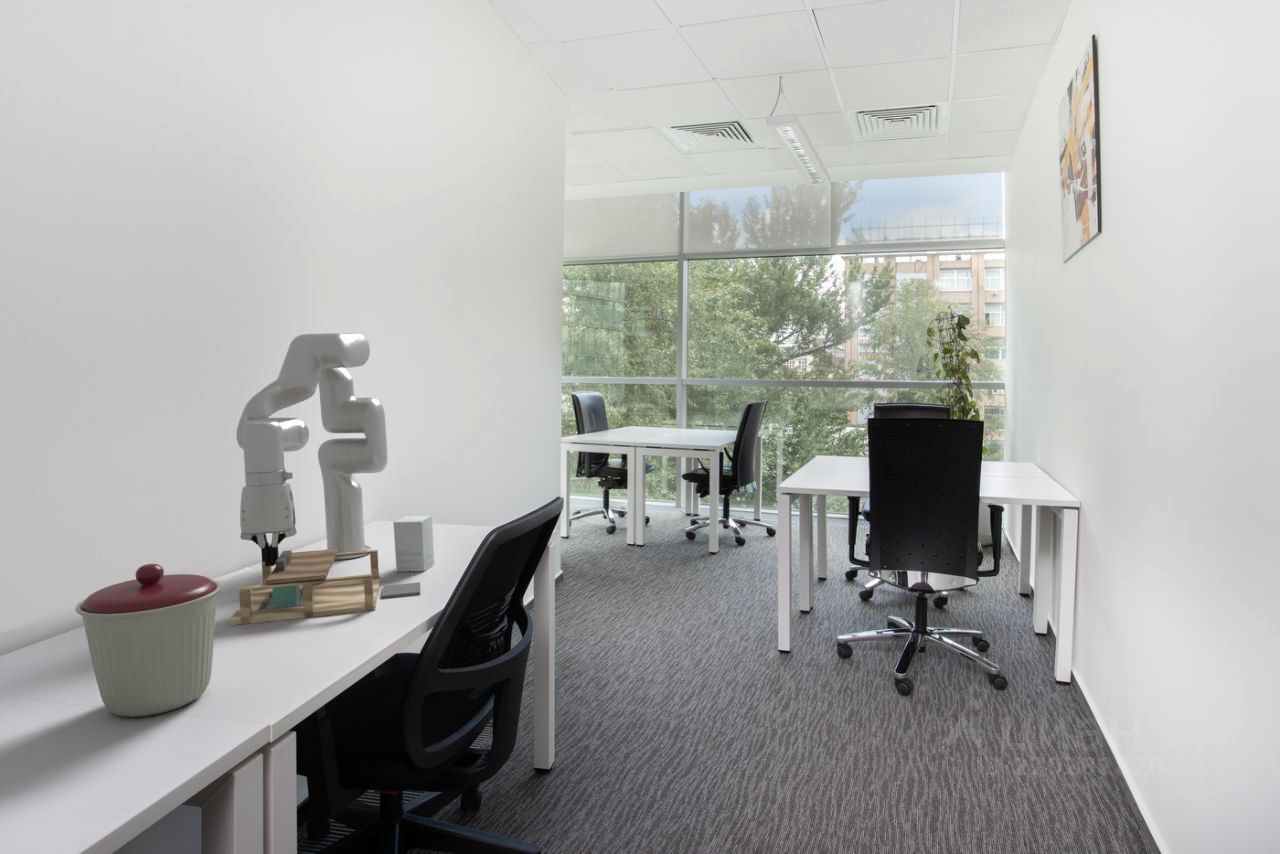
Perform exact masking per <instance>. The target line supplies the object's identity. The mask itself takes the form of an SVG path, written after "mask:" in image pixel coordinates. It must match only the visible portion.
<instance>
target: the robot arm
mask: <svg viewBox="0 0 1280 854" xmlns="http://www.w3.org/2000/svg"><path fill="white" fill-rule="evenodd" d="M370 353H371V348H370V343H369V340H368V339H367V337H366V336H365V335H363V334H361V333H359V332H354V333H353V332H346V333H345V332H339V333H337V332H335V333H327V332H326V333H305V334H299V335H297V336H296V337H294V338H293V339H292V340H291V342H290V343H289V346H288V349H287V352H286V355H285V358H284V360H283V363H282V366H281V368H280V371H279V374H278V377H277V379H275V380H274V381H272V382H271V383H269V384H268V385H266V386H265V387H264V388H262V389H261V390H259V391H258V392H257V393H256V394H255V395H253V396H252V397H251V398H250V399H249V401H247V402H246V405H245V406H244V409H242V410H243V411H242V413H241V416H240V419H239V421H238V424H237V429H236V434H235V435H236V442H237V444H238V446H239V448H241V449H242V450H243V460H244V463H243V465H244V477H245V480H244V481H245V486H243V487H242V489H241V490H242V491H241V495H240V511H239V522H240V523H239V526H240V531H241V532H240V533H241V534H240V537H239V538H240V540H243V541H244V540H246V541H252V542H254V543H255V544H256V545H257V546H258V547H259V548H260V549H261V563H262V562H265V567H267V566H269V565H270V566H271V567H274V566H275V562H276V560H277V559H278V558H279V556H280V555H279V553H280V552H279V545H280V544H281V542H282V541H283V540H285V539H287V538H288V539H289V538H291V537H294V536H296V534H297V532H298V531H297V529H296V523H297V521H296V520H297V519H296V510H295V509H296V508H295V503H294V496H293V492H292V491H293V490H292V486H291V484H290V483H286V482H287V481H288V480H292V479H293V472H289V471H286V469H285V452H286V453H287V452H297V451H299V450H301V449H304V447H305V446H306V444H307V443H308V441H309V439H310V431H309V428H308V425H307V423H306V422H304V421H303V420H302V419H299V418H296V417H270V416H272V415H274V414H276V413H277V412H280V411H281V410H283V409H286V408H289V407H292V406H295V405H297V404H299V403H302V402H304V401H307V400H309V399H310V398H311V397H313V396H314V395H315V393H316V390H317V388H318V389H319V404H320V415H321V423H322V427H323V429H324V430H325V431H326V432H327V433H330V434H364V437H351V438H350V437H347V438H346V437H345V438H344V437H343V438H342V437H341V438H332V439H328V440H326V441H323V442H322V443H321V444H320V446H319V448H318V450H317V451H318V452H317V459H318V465H319V467H320V472H321V477H322V483H323V496H324V497H323V498H324V512H325V513H324V514H325V532H326V533H325V534H326V547H327V549H325V550H330V549H337V553H347V552H359V551H371V550H372V548H371V546H369V545H365V544H366V543H365V527H364V525H365V523H364V506H363V505H364V503H363V489H362V486H361V484H360V483H359V481H358V479H356V477H355V476H354V474H376V473H380V472H383V471H385V469H386V467H387V463H388V441H387V427H386V426H387V425H386V424H387V423H386V415H385V410H384V406H383V405H382V403H381V402H380V400H378V398H375V397H356V396H355V391H354V390H355V389H354V380H353V377H352V375H351V373H350V372H349V371H348V369H349V368H351V369H352V368H356V367H357V368H358V367H362V366H364V365H365V364H366V363H367V362H368V360H369V358H370ZM346 368H348V369H346ZM267 534H272V535H271V542H269V541H268V538H267V537H268V536H267ZM367 555H368V554H361V555H350V556H338V557H335V559H334V561H336V560H350V559H356V558H361V557H364V556H367Z"/></svg>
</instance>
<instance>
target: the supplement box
mask: <svg viewBox="0 0 1280 854" xmlns="http://www.w3.org/2000/svg"><path fill="white" fill-rule="evenodd" d="M393 535H394V537H393V538H394V551H395V552H394V553H395V563H396V564H395V567H396V572H397V573H398V572H401V573H402V572H405V573H407V572H409V571H411V572H414V571H415V572H416V571H417V572H426V571H427V570H428V569H430V568H432V567H433V566H434V565H435V553H434V533H433V516H432V515H424V516H423V515H415V516H414V515H412V516H411V515H409V516H407V515H405V516H403V517H401V518H399V519H397V520H396V521H395V520H394V521H393ZM433 564H434V565H433ZM432 565H433V566H432ZM429 567H430V568H429ZM425 570H426V571H425ZM417 572H416V573H417Z"/></svg>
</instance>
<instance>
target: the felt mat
mask: <svg viewBox="0 0 1280 854" xmlns="http://www.w3.org/2000/svg"><path fill="white" fill-rule="evenodd" d="M420 595H421V581H420V582H408V583H399V584H398V583H397V584H389V585H388V584H387V585H383V587H382V593H381V599H389V598H388V597H391V598H399V597H400V596H401V597H407V596H408V597H409V596H420Z"/></svg>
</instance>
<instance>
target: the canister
mask: <svg viewBox="0 0 1280 854" xmlns="http://www.w3.org/2000/svg"><path fill="white" fill-rule="evenodd" d="M164 570H165V569H164V567H163V566H161V565H160V564H157V563H147V564H143V565H141V566H139V567H138V569H137V570H136V572H135V579H131V580H125V581H122V582H119V583H115V584H111V585H108V586H105V587H103V588H101V589H98V590H96V591H95V592H93V593H91V594H90V595H88V597H86V598H85V599H83V600H82V601H80V602H79V603H78V604H76V606H75V612H76V613H77V614H78V615H79V616H81V617H82V621H83V626H84V632H85V636H86V639H87V640H86V641H87V645H88V650H89V653H90V658H91V662H92V666H93V667H92V669H93V671H94V675H95V680H96V684H97V687H98V691H99V694H100V698H101V700H102V703H103V705H104V706H105V708H106V709H107V710H108V711H109V712H110V713H112V714H114V715H116V716H120V717H125V718H126V717H129V716H130V717H131V718H133V717H147V716H154V715H157V714H162V713H167V712H169V711H174V710H177V709H180V708H181V707H184V706H187V705H188V704H190V703H192V702H193V701H195V700H197V699H198V698H199V697H201V696H202V695H203V694H204V692H205V691H206V690H207V688H208V686H209V684H210V682H211V678H212V668H213V659H214V658H213V657H214V643H215V626H216V625H215V624H216V609H217V595H218V593H219V592H220V591H221V589H222V585H221V583H220V582H218V581H216V580H214V579H210V578H208V577H206V576H203V575H198V574H189V573H188V574H186V573H179V574H178V573H177V574H165V571H164ZM130 717H129V718H130Z"/></svg>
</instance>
